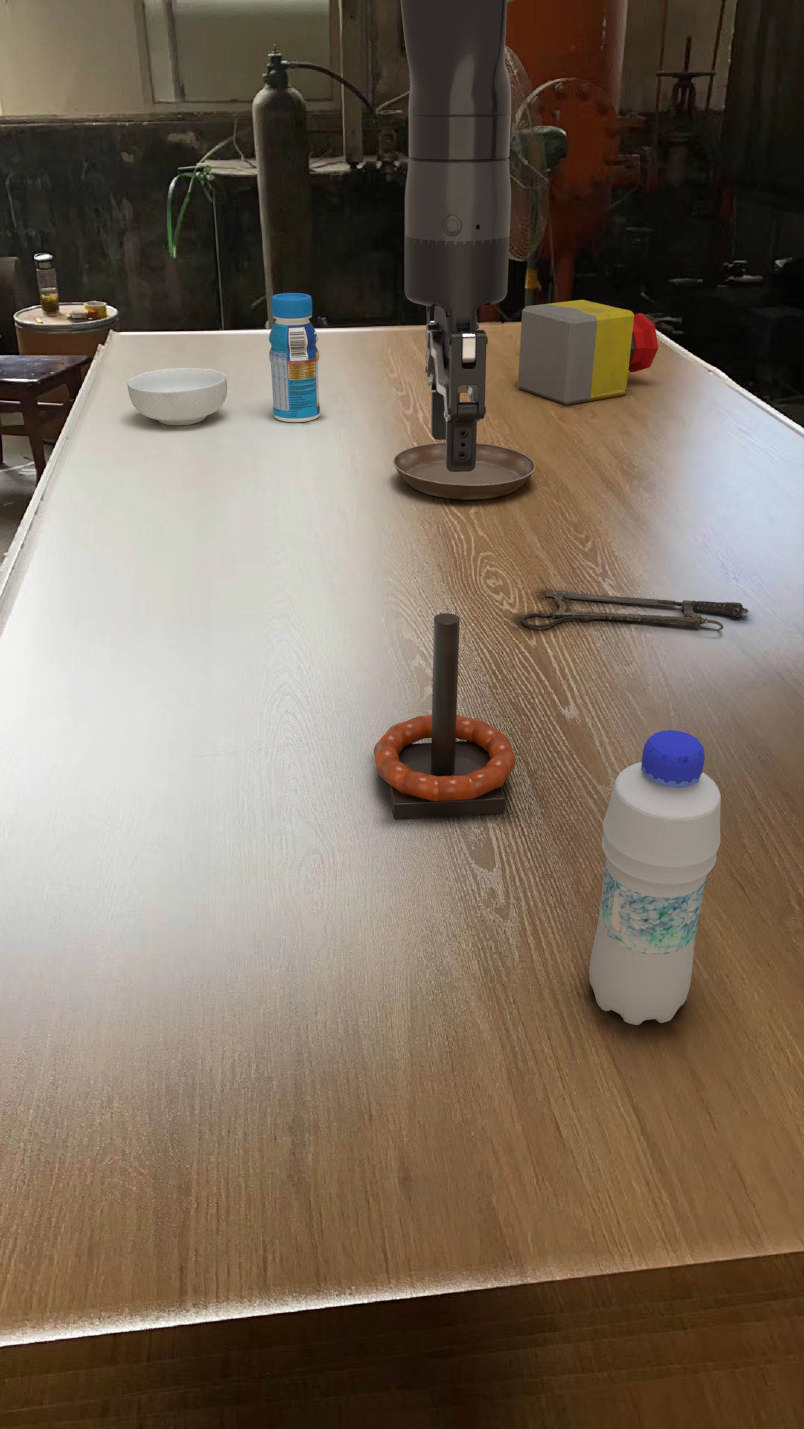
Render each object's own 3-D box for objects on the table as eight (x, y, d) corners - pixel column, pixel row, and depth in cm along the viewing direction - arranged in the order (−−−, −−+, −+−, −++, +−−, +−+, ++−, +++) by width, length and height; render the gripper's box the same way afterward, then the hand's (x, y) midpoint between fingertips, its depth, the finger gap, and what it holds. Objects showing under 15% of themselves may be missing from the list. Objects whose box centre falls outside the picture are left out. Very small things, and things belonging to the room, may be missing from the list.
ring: (499, 726, 97) (500, 707, 96) (525, 801, 87) (527, 780, 86) (369, 733, 96) (369, 714, 95) (381, 809, 86) (380, 788, 85)
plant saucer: (506, 456, 170) (507, 435, 169) (555, 500, 153) (557, 477, 152) (378, 467, 166) (378, 445, 164) (414, 512, 149) (415, 489, 147)
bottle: (643, 952, 74) (681, 697, 64) (711, 1017, 69) (764, 751, 59) (562, 986, 71) (589, 724, 61) (626, 1056, 66) (667, 783, 56)
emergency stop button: (664, 389, 208) (675, 306, 200) (565, 406, 197) (572, 319, 189) (612, 373, 219) (620, 294, 211) (515, 388, 208) (520, 306, 200)
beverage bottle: (263, 420, 188) (256, 298, 178) (286, 408, 195) (281, 290, 185) (307, 425, 185) (302, 302, 175) (329, 413, 192) (325, 293, 182)
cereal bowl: (162, 403, 198) (158, 363, 194) (245, 411, 193) (243, 370, 190) (113, 428, 184) (107, 385, 180) (201, 437, 179) (197, 393, 176)
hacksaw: (747, 613, 121) (749, 600, 120) (748, 654, 113) (751, 641, 112) (531, 590, 126) (532, 578, 125) (517, 628, 118) (518, 615, 117)
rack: (486, 754, 96) (494, 592, 88) (504, 813, 88) (515, 642, 80) (384, 759, 95) (383, 596, 87) (393, 819, 87) (393, 647, 79)
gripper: (529, 242, 72) (516, 481, 80) (491, 218, 84) (484, 427, 92) (415, 243, 71) (414, 484, 79) (395, 219, 83) (395, 430, 91)
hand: (452, 453), depth 86 cm, fingers open, 8 cm apart
